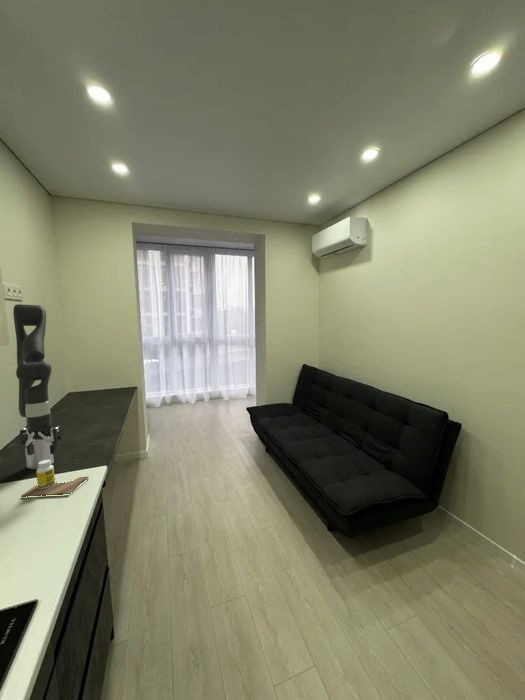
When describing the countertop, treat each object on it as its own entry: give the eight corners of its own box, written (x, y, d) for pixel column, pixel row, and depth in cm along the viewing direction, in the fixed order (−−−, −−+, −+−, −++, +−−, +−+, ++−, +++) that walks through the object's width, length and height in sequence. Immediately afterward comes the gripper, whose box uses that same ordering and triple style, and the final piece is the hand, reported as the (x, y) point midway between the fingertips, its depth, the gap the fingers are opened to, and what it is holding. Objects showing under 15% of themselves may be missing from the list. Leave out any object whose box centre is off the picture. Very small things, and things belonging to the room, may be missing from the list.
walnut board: (21, 498, 108) (21, 495, 108) (45, 481, 120) (44, 479, 120) (69, 495, 108) (69, 492, 108) (88, 479, 120) (88, 476, 120)
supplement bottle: (47, 489, 111) (45, 464, 111) (34, 489, 111) (31, 465, 111) (58, 482, 116) (56, 458, 116) (45, 482, 117) (43, 458, 116)
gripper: (63, 410, 116) (67, 449, 117) (27, 411, 116) (31, 450, 117) (49, 415, 108) (53, 457, 109) (11, 417, 108) (16, 459, 109)
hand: (42, 454), depth 113 cm, fingers open, 8 cm apart
